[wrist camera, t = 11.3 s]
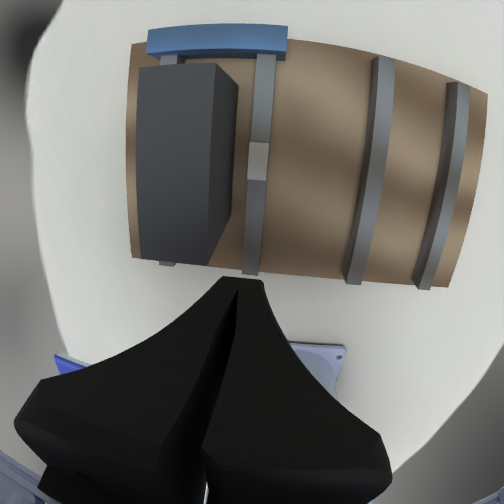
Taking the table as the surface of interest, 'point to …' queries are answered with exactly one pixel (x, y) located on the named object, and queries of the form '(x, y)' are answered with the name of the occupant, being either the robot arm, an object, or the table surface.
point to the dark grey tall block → (184, 160)
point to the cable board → (331, 156)
